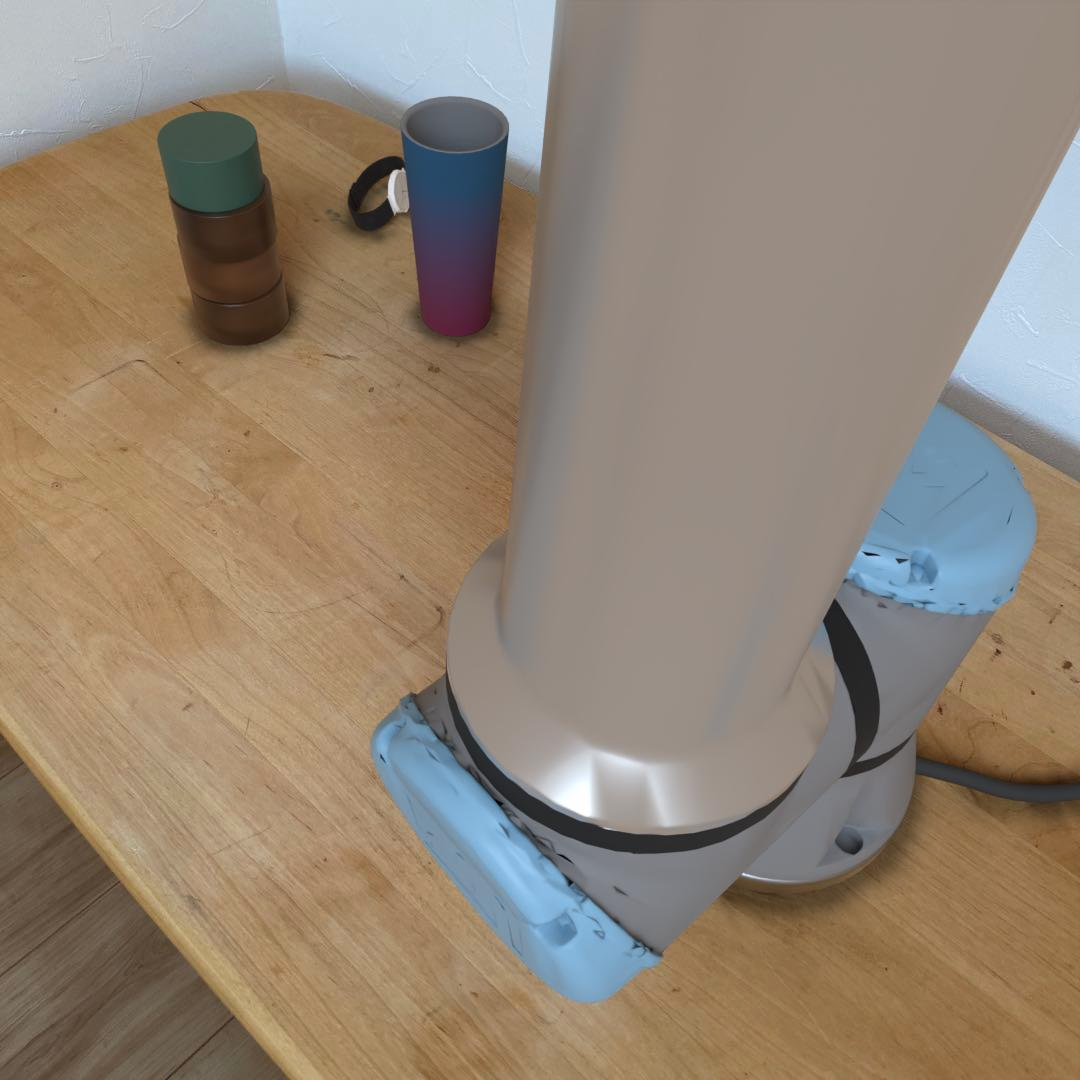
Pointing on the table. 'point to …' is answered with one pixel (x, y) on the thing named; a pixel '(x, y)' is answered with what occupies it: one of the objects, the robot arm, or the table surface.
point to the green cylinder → (211, 161)
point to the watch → (395, 198)
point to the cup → (455, 206)
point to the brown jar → (234, 270)
